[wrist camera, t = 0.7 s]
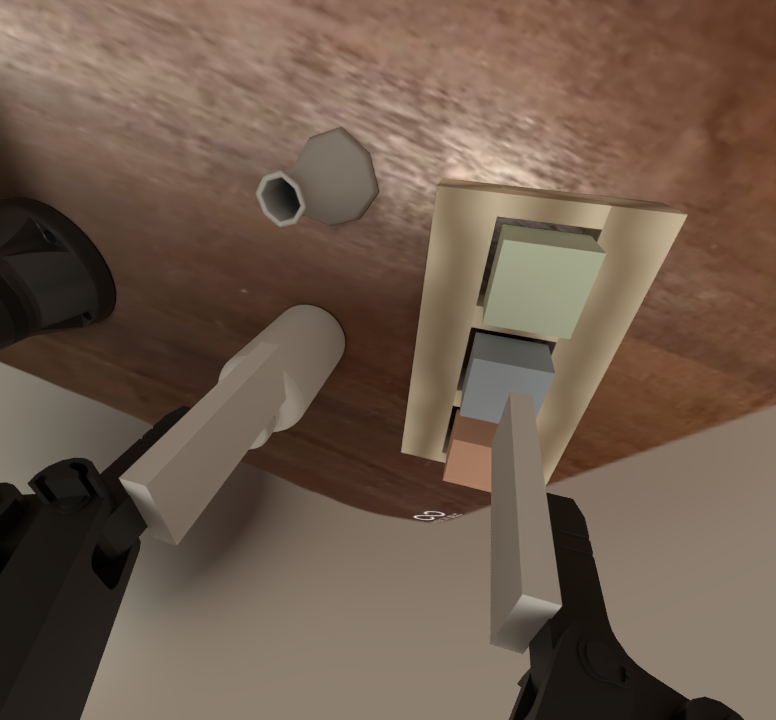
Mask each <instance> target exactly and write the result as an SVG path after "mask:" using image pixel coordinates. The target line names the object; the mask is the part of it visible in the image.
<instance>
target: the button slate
mask: <svg viewBox="0 0 776 720" xmlns="http://www.w3.org/2000/svg"><path fill="white" fill-rule="evenodd" d="M554 376H555V371H554V367H553V362H552V358H551V354H550V350H549V346H548V345H545V344H540V343H534V342H529V341H523V340H517V339H512V338H506V337H501V336H495V335H489V334H484V333H478V332H476V334H475V338H474V342H473V346H472V350H471V354H470V358H469V363H468V367H467V371H466V375H465V379H464V383H463V388H462V397H461V405H460V414H459V415H460V416H465V417H470V418H474V419H479V420H483V421H488V422H493V423H497V424H499V422H500V419H501V416H502V413H503V410H504V407H505V404H506V401H507V399H508V396H509V393H510V392H514V393H519V394H524V395H529V396H532V397H533V404H534V411H535V418H537V416H538V413H539V411H540V409H541V406H542V404H543V402H544V399H545V397H546V394H547V392H548V390H549V387H550V385H551V383H552V380H553V378H554Z"/></svg>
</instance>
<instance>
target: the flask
mask: <svg viewBox="0 0 776 720" xmlns="http://www.w3.org/2000/svg"><path fill="white" fill-rule="evenodd" d="M378 192H379V190H378V186H377V182H376V178H375V174H374V170H373V166H372V162H371V158H370V154H369V153H368V152H367V151H366V150H365V149H364V148H363V147H362V146H361V145H360V144H359V143H358V142H357V141H356V140H355V139H354V138H353V137H352V136H350V135H349V134H348V133H347V132H346V131H345V130H344V129H343V128H342V127H339V128H336V129H334V130H331V131H328V132H325V133H322V134H319V135H316V136H313V137H310V138H309V140H308V141H307V143H306V145H305V147H304V149H303V151H302V153H301V155H300V157H299V158H298V160H297V161H296V163H295V165H294V166H293V168H292V169H291V170H290V171H288V172H287V173H286V172H285V171H284V170H281V171H278V172H275V173H271V174H268V175H265V176H263V178H262V180H261V182H260V184H259V186H258V189H257V191H256V193H255V194H256V196H257V199H258V201H259V204H260V206H261V209H262V211H263V214H264V215H265V216H267V217H268V218H269V219H270V220H271V221H272V222H274V223H275V224H276V225H277V226H278V227H284V226H288V225H292V224H296V223H298V222H299V220H300V218H301V217H302V216H307V217H310V218H313V219H316V220H319V221H321V222H323V223H325V224H328V225H331V226H332V225H336V224H340V223H345V222H349V221H353V220H357V219H360V218H361V216H362V215H363V214H364V212H365V211H366V209H367V208H368V207H369V205H370V204H371V202H372V201H373V199H374V198H375V197H376V195H377V194H378Z"/></svg>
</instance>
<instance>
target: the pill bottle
mask: <svg viewBox="0 0 776 720" xmlns="http://www.w3.org/2000/svg"><path fill="white" fill-rule="evenodd" d="M261 342H265V343H270V344H275V345H280V352H281V360H282V368H283V376H284V384H285V392H286V400H285V401H284V403H283V404H282V405H281V407H280V408H279V409H278V411H277V412H276V413H275V415H274V416H273V417H272V419H271V420H270V421H269V423H268V424H267V425H266V427H265V428H264V429H263V431H262V432H261V433H260V435H259V436H258V437H257V439H256V440H255V441H254V443H253V444H252V446H251V447H250V448H249V449H254V448H258V447H260V446H262V445H263V444H264V443H265V442H266V441H267V439H268V438H269V437H270V435H271V434H272V432H277V431H282V430H285V429H287V428H289V427H291V426H293V425H294V424H295V423H297V422H298V421H299V420H300V418H301V417H302V416H303V414H304V413H305V411H306V410H307V408H308V407H309V405H310V404H311V402H312V401H313V399H314V398H315V396H316V395H317V393H318V392H319V390H320V389H321V387H322V386H323V384H324V383H325V381H326V380H327V378H328V377H329V375H330V374H331V372H332V371H333V369H334V368H335V366H336V365H337V363H338V362H339V360H340V359H341V357H342V355H343V352H344V349H345V337H344V333H343V330H342V328H341V326H340V325H339V323H338V322H337V320H336V319H335V318H334V317H333V316H332V315H331V314H329V313H328V312H327V311H325V310H323V309H321V308H319V307H316V306H313V305H297V306H294V307H292V308H290V309H288V310H287V311H285V312H284V313H283V314H282V315H280V316H279V317H278V318H277V319H276V320H275V321H274V322H272V323H271V324H270V325H269V326H268V327H267V328H266V329H264V330H263V331H262V332H261V333H260V334H259V335H258V336H256V337H255V338H254V339H253V340H252V341H251V342H250V343H248V344H247V345H246V346H245V347H244V348H243V349H242V350H240V351H239V352H238V353H237V354H236V355H235V356H234V357H232V358H231V359H230V360H229V361H228V362H227V363H226V364H225V366H224V367H223V369H222V371H221V373H220V376H219V382H220V381H221V380H222V379H223V378H224V377H225V376H226V375H228V374H229V373H230V372H231V371H232V370H233V369H234V368H235V367H236V366H237V365H238V364H239V363H240V362H241V361H242V360H243V359H244V358H245V357H246V356H247V355H248V354H250V353H251V352H252V351H253V350H254V349H255V348H256V347H257V346H258V345H259V344H260V343H261ZM219 382H218V383H219Z"/></svg>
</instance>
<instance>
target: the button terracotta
mask: <svg viewBox="0 0 776 720" xmlns="http://www.w3.org/2000/svg"><path fill="white" fill-rule="evenodd" d="M459 414H460V410H459V409H457V412H456V416H455V420H454V424H453V428H452V432H451V436H450V440H449V444H448V448H447V455H446V462H445V469H444V476H443V480H444V481H448V482H452V483H456V484H460V485H464V486H468V487H472V488H476V489H480V490H484V491H488V492H491V445H492V442H493V439H494V436H495V433H496V431H497V428H498V425H499V424H497V423H493V422H488V421H483V420H479V419H474V418H470V417H465V416H460V415H459Z"/></svg>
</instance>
